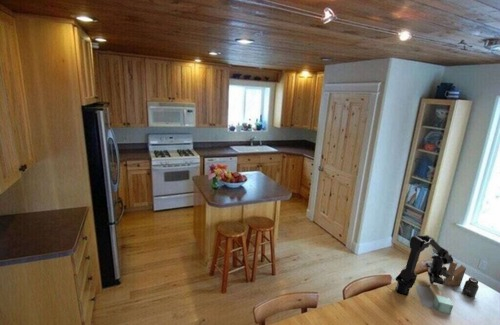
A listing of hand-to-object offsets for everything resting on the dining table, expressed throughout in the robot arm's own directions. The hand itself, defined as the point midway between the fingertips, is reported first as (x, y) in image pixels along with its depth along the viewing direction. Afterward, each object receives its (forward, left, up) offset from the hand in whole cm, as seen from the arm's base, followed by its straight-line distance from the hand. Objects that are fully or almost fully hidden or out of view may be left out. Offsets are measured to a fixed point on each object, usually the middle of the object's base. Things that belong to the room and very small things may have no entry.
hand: (431, 283), depth 180 cm
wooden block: (+15, +9, -2) cm, 17 cm away
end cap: (0, -22, -1) cm, 22 cm away
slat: (0, -11, -1) cm, 11 cm away
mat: (-3, -14, -2) cm, 15 cm away
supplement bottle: (+22, +1, -2) cm, 22 cm away
